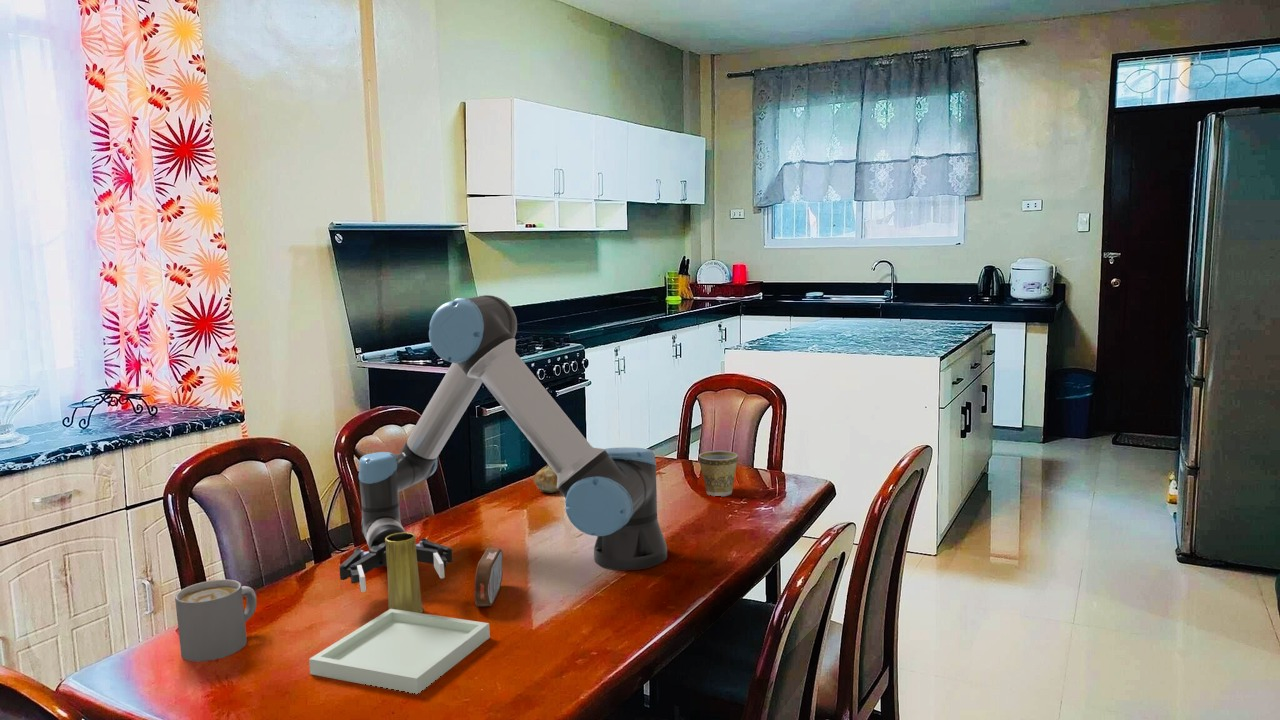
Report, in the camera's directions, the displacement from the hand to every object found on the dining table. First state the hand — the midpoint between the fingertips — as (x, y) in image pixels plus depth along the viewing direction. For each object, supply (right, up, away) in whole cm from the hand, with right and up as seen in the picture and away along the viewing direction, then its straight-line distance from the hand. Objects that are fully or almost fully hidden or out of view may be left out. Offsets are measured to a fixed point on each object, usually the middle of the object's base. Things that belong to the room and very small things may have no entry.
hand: (403, 577), depth 157 cm
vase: (0, -7, +3) cm, 8 cm away
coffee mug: (-28, -10, -7) cm, 31 cm away
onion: (+18, +3, +79) cm, 81 cm away
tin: (+14, -6, +9) cm, 18 cm away
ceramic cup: (+62, +4, +74) cm, 97 cm away
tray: (+4, -9, -14) cm, 17 cm away
